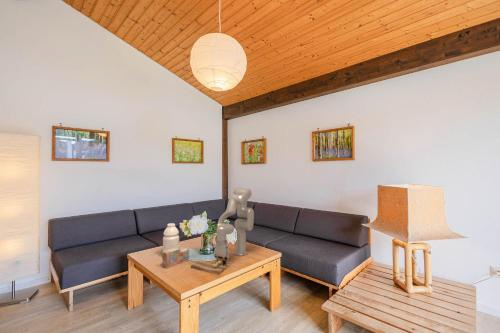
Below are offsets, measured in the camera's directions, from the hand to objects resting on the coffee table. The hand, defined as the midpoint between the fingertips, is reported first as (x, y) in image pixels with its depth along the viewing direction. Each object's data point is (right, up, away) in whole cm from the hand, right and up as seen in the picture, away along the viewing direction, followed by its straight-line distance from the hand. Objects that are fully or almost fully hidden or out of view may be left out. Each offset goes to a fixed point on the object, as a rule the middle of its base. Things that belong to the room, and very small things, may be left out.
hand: (221, 264), depth 189 cm
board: (-9, -1, -5) cm, 10 cm away
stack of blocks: (-38, -1, +4) cm, 38 cm away
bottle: (-48, -1, +21) cm, 52 cm away
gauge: (-2, -1, -4) cm, 4 cm away
